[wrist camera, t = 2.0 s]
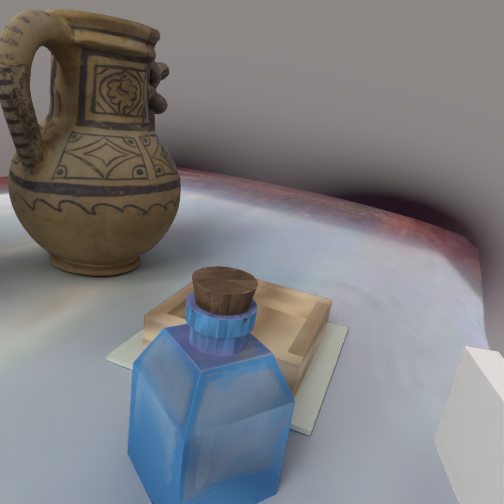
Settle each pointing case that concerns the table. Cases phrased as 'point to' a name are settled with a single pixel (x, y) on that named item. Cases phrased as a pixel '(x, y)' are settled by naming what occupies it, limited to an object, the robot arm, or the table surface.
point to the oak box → (264, 325)
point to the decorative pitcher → (88, 140)
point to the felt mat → (310, 387)
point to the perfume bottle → (210, 401)
